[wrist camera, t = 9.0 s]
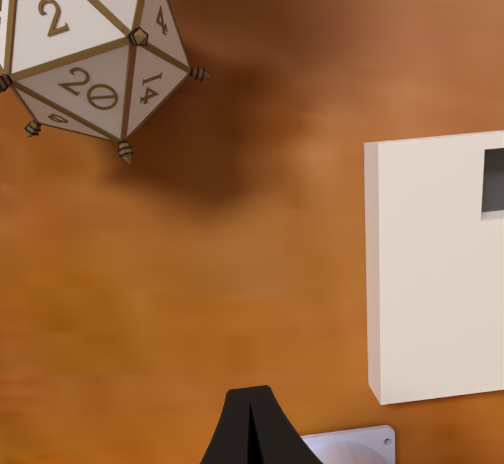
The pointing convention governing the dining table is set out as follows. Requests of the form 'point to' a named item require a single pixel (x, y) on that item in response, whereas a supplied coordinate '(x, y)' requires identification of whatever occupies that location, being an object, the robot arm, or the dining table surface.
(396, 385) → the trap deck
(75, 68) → the game die
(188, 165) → the dining table surface
